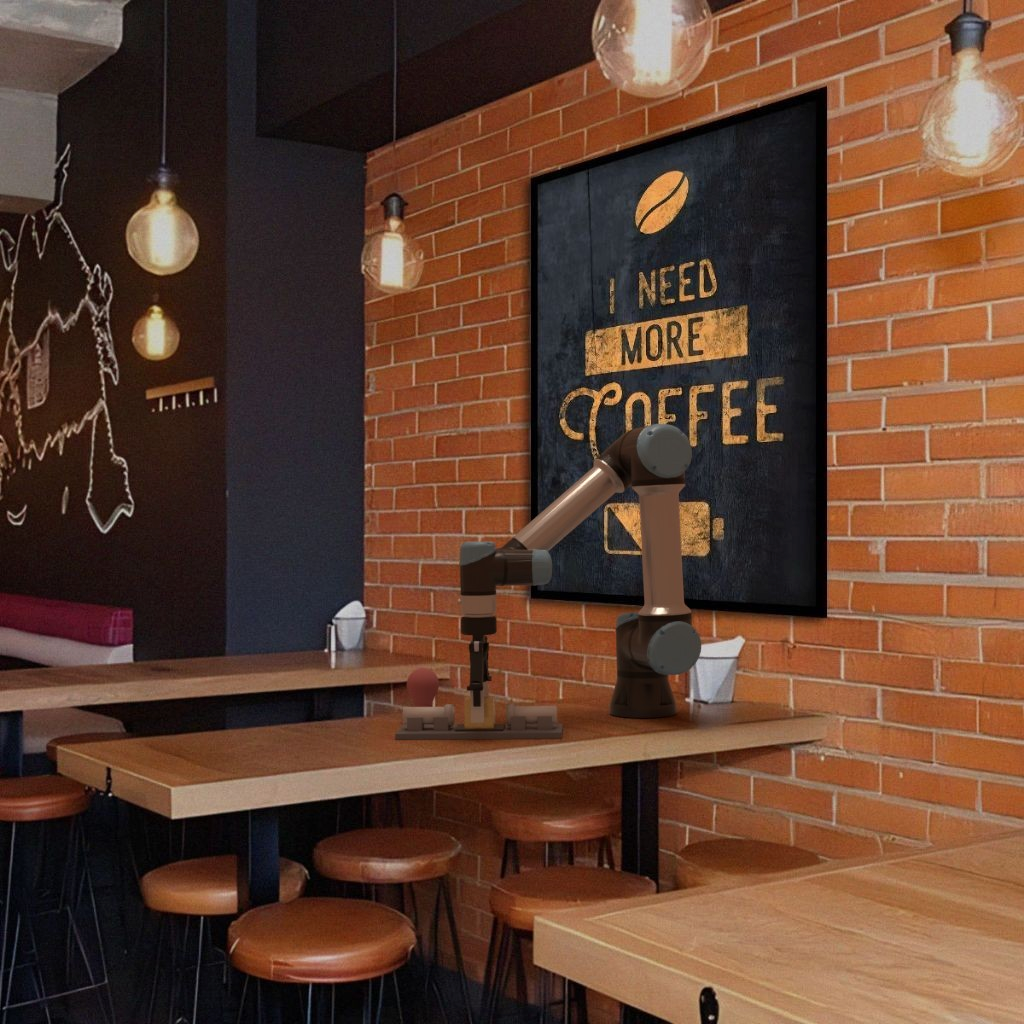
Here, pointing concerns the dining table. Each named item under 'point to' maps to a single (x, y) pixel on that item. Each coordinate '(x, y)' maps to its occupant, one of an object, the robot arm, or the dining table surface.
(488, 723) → the block
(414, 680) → the light bulb
